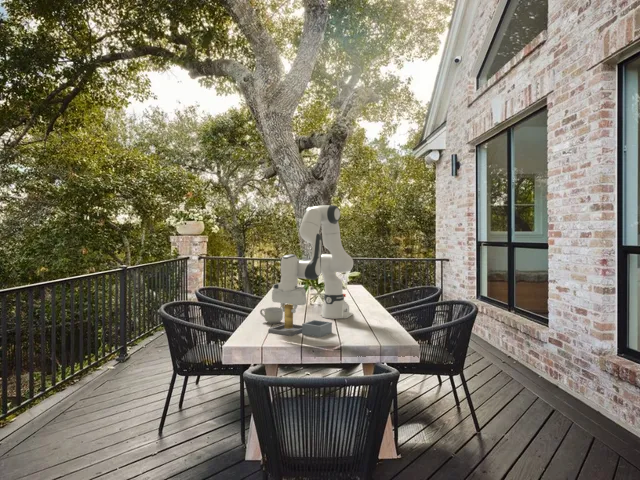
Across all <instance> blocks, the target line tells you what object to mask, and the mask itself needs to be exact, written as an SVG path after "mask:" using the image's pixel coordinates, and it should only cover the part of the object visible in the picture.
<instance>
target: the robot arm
mask: <svg viewBox="0 0 640 480" xmlns="http://www.w3.org/2000/svg"><path fill="white" fill-rule="evenodd" d="M340 218H341V210H340V208H339V207H338V206H337V205H333V204H330V205H329V204H327V205H326V204H322V205H321V204H320V205H315V206H313V205H312V206H309V207H307V208H306V209H305V210H304V215H303V218H302V220H301V223H300V226H299V235H300V237H301V239H302V240H303V241H305V242H307V243H308V244H311V245H312V250H311V251H312V252H311V258H310V259H309V260H301V259H299V258H298V257H297V255H296V254H293V253H292V254H285V255H283V256H282V257H281V261H280V274H281V275H280V276H281V277H280V282H277V283H274V284H272V291H271V300H272V302H273V303H278V304H280V308H282V311H283V313H285V304H293V309H292V310H291V313H293V314H295V313H296V310H297V308H298V306H306V304H307V302H308V301H307V293H306V292H307V291H306V288H304V287H303V286H298V279H305V280H312V281H315V280H317V279H318V278H319V277H320V275H322V277H323V282H324V294H323V300H324V301H323V302H322V308H321V312H320V314H319V316H321V317H322V318H324V319H332V320H333V319H335V320H336V319H348V318H349V317H351V316H353V315H354V312H352V311H350V305H349V303H347V301H346V300H345V298H346V297H347V294H346V293H343V287H344V286H343V280H342V279H340V278H339V277H338V276H337V274H336V273H347V272H351V271H352V269H353V267H354V259H353V257H352V256H350V255H349V253H347V251H346V250H345V248H344V247H343V244H342V241H341V240H342V238H341V229H340V224H339V220H340ZM320 230H321V234H320ZM323 246H324V249H327V251H329V253H322V252H323Z"/></svg>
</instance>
